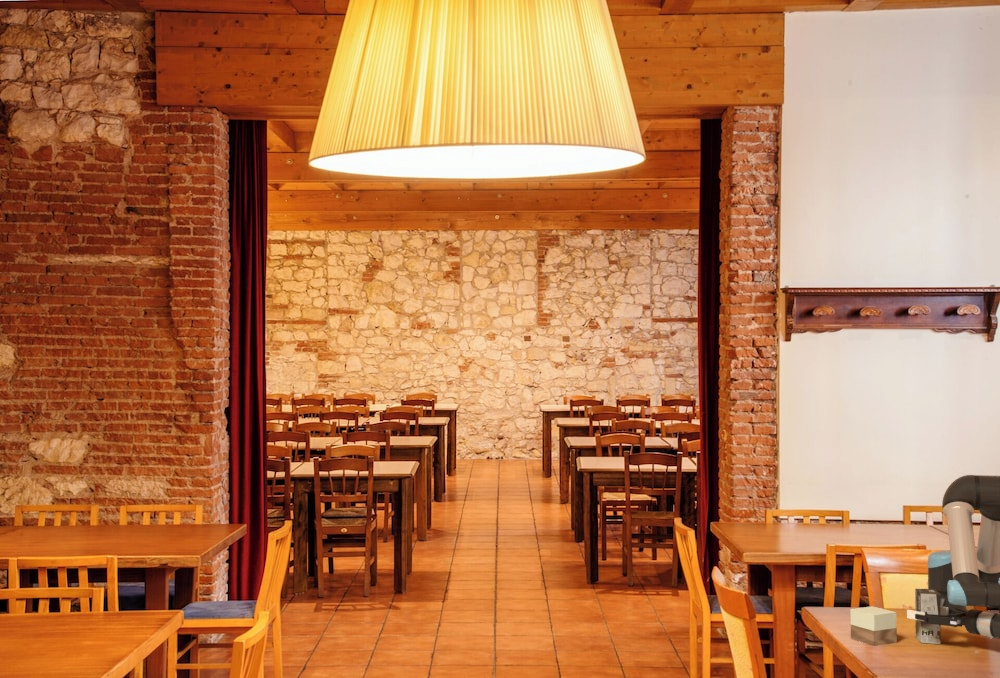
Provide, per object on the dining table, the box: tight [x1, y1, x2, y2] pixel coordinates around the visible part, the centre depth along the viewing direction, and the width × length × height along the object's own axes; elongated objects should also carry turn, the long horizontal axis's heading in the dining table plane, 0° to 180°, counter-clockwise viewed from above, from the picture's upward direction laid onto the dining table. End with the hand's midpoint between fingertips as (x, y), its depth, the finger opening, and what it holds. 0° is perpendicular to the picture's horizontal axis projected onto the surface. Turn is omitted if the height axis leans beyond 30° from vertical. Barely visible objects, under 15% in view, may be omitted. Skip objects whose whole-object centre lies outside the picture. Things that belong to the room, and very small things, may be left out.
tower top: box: [850, 605, 897, 631], centre depth 340 cm, size 10×10×5 cm
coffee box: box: [914, 588, 942, 645], centre depth 341 cm, size 9×6×16 cm
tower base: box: [850, 624, 898, 647], centre depth 340 cm, size 10×10×5 cm
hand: (918, 611), depth 344 cm, fingers open, 13 cm apart
